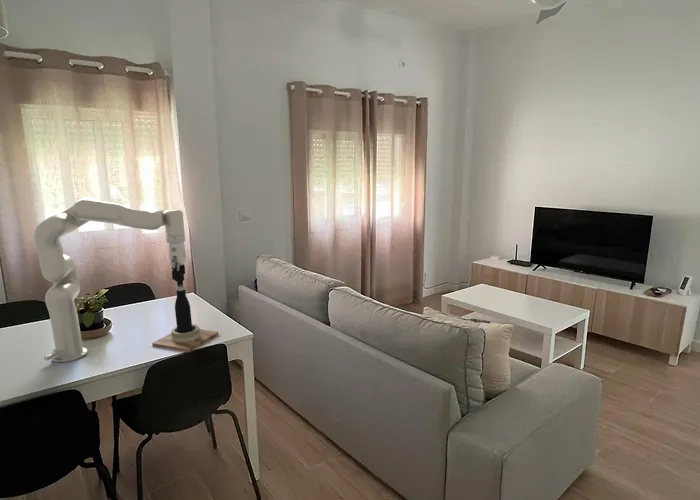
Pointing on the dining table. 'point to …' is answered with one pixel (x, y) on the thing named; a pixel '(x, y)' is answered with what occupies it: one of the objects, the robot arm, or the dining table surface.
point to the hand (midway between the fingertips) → (179, 276)
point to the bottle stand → (185, 339)
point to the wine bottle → (182, 308)
